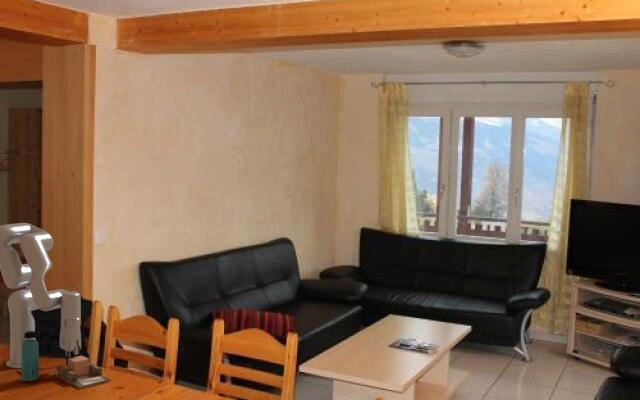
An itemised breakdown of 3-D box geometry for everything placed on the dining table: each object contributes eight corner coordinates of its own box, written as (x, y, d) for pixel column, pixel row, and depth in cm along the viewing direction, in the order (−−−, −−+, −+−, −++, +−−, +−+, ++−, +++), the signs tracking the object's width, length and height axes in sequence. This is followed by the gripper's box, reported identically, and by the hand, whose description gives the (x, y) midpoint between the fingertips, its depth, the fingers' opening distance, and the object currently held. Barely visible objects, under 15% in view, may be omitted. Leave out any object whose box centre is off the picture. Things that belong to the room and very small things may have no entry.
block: (67, 373, 271) (67, 358, 270) (81, 369, 275) (81, 355, 275) (74, 376, 267) (74, 361, 266) (88, 373, 271) (89, 359, 270)
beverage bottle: (32, 385, 259) (32, 334, 258) (17, 383, 260) (17, 333, 259) (42, 380, 265) (42, 330, 264) (27, 378, 266) (27, 329, 265)
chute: (56, 376, 270) (56, 366, 270) (86, 369, 280) (86, 360, 279) (79, 389, 256) (79, 378, 256) (110, 381, 266) (110, 371, 266)
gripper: (53, 320, 277) (53, 363, 278) (70, 327, 266) (70, 372, 268) (71, 317, 282) (71, 360, 283) (88, 323, 272) (88, 368, 273)
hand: (70, 365), depth 275 cm, fingers closed
